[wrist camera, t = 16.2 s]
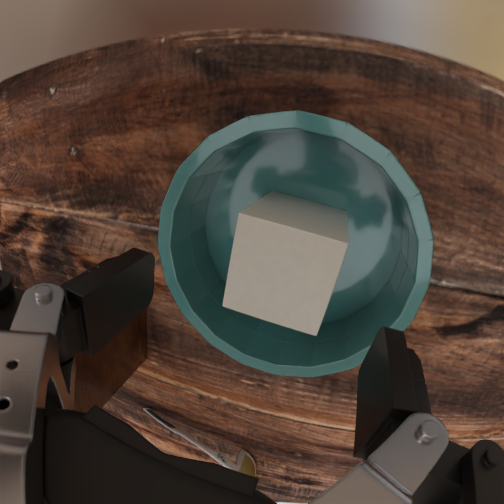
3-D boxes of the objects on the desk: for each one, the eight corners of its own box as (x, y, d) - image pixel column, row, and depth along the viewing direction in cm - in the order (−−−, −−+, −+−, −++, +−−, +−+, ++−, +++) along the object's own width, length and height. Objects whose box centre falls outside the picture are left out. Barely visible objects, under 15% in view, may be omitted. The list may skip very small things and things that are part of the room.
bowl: (217, 102, 18) (177, 92, 13) (439, 158, 15) (470, 165, 10) (188, 294, 23) (153, 329, 18) (367, 350, 20) (368, 400, 16)
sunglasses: (245, 496, 32) (228, 522, 28) (152, 442, 37) (131, 464, 32) (279, 454, 27) (259, 490, 22) (156, 385, 31) (127, 411, 27)
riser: (85, 270, 26) (-108, 402, 6) (146, 297, 24) (-63, 484, 4) (91, 330, 28) (-60, 461, 8) (146, 358, 27) (-5, 527, 7)
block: (271, 190, 18) (238, 212, 13) (347, 211, 17) (348, 243, 12) (256, 260, 20) (221, 306, 14) (326, 281, 19) (316, 336, 13)
